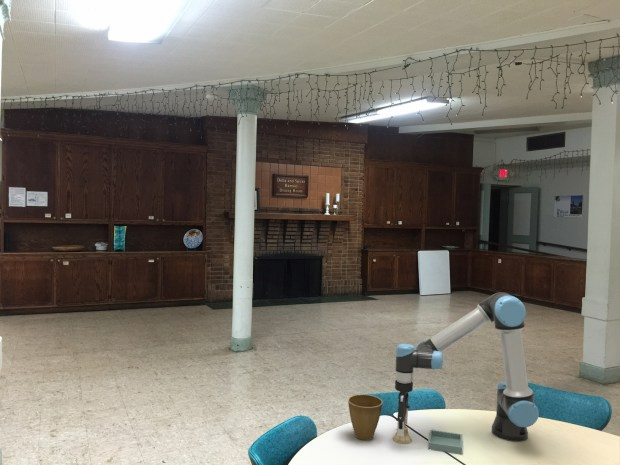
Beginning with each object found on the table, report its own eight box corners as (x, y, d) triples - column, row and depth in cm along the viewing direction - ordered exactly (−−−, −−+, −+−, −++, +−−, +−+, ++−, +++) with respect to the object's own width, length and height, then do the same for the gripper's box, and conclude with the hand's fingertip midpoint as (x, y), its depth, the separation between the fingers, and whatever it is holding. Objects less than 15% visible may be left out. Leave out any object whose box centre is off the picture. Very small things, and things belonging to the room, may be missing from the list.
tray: (462, 440, 220) (462, 434, 220) (462, 454, 207) (462, 447, 207) (429, 435, 224) (430, 429, 224) (427, 449, 211) (428, 442, 211)
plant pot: (340, 435, 223) (341, 399, 222) (363, 426, 232) (364, 392, 232) (365, 447, 211) (366, 409, 211) (388, 438, 221) (389, 401, 221)
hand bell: (410, 436, 224) (412, 400, 223) (412, 444, 216) (414, 407, 215) (391, 434, 225) (392, 398, 224) (393, 443, 216) (394, 405, 216)
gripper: (398, 371, 232) (397, 417, 233) (391, 388, 208) (389, 440, 209) (415, 373, 230) (414, 419, 231) (409, 391, 206) (408, 442, 207)
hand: (402, 429), depth 220 cm, fingers open, 13 cm apart
